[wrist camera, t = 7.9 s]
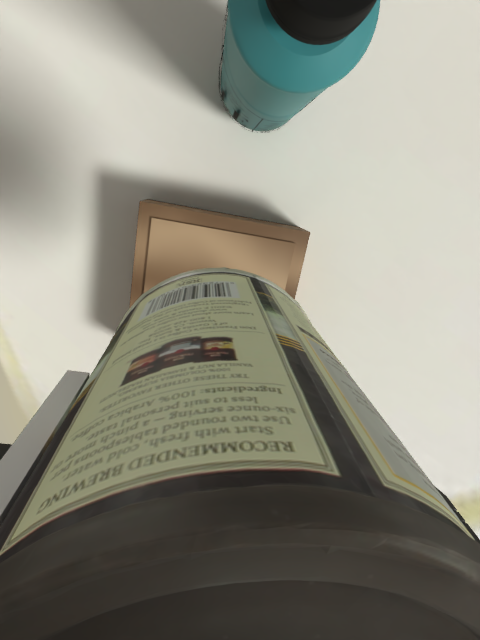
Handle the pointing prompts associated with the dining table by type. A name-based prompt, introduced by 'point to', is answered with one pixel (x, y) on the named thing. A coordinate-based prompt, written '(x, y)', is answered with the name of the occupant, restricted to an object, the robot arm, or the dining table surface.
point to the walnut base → (213, 246)
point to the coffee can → (230, 491)
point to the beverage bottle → (289, 54)
